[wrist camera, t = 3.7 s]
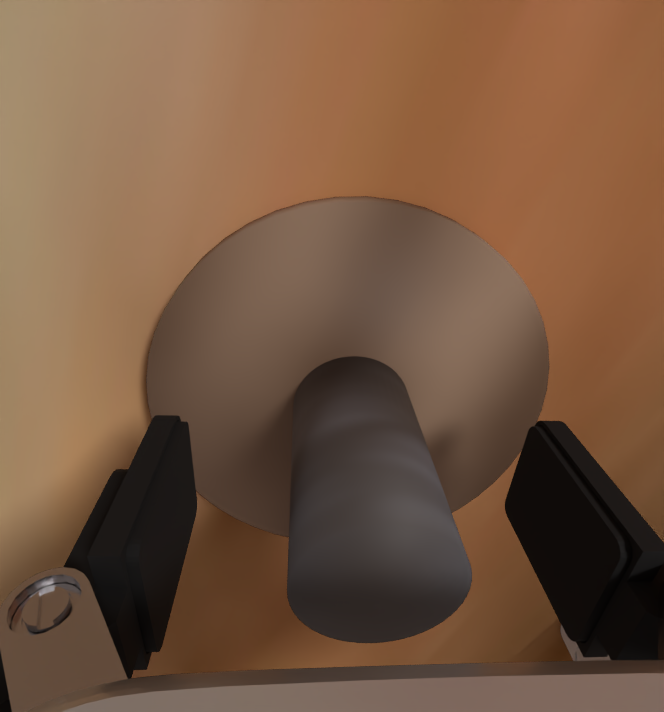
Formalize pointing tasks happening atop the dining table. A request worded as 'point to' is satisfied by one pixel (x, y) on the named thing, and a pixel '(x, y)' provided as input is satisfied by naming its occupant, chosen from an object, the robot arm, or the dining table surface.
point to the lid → (354, 398)
